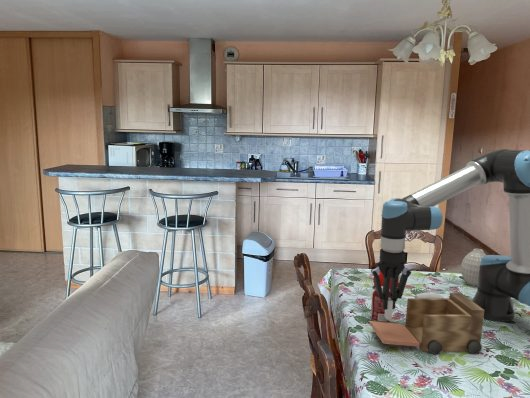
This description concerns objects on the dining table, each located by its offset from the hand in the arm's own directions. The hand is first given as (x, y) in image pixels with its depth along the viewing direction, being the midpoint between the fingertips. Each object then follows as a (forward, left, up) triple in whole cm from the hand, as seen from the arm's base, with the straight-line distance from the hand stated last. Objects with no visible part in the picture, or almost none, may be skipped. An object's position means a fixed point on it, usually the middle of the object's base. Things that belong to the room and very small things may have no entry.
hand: (388, 318), depth 137 cm
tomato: (0, -49, -8) cm, 49 cm away
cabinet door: (-8, -3, -6) cm, 10 cm away
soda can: (+2, -16, -8) cm, 18 cm away
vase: (-40, -70, -8) cm, 81 cm away
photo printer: (-15, -15, -8) cm, 23 cm away
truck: (-18, -6, -8) cm, 20 cm away
